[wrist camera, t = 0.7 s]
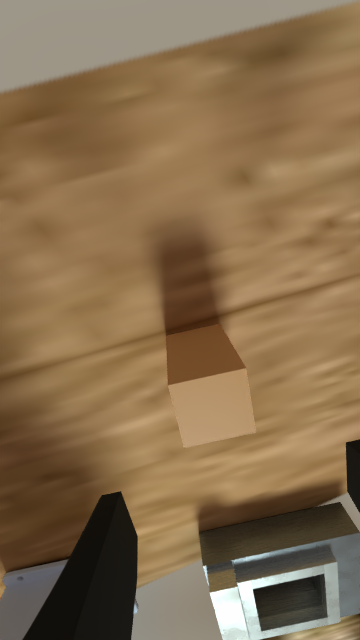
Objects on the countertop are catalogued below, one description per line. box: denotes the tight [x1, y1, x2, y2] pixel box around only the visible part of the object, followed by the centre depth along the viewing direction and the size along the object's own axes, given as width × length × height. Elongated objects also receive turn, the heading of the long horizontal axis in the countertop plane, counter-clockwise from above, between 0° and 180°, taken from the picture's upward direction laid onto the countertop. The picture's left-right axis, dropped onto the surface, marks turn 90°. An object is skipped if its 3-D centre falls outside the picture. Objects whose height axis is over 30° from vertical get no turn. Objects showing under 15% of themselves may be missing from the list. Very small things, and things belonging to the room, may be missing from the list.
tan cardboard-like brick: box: [166, 324, 256, 448], centre depth 16 cm, size 4×4×6 cm
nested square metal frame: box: [199, 502, 360, 640], centre depth 23 cm, size 12×10×4 cm
